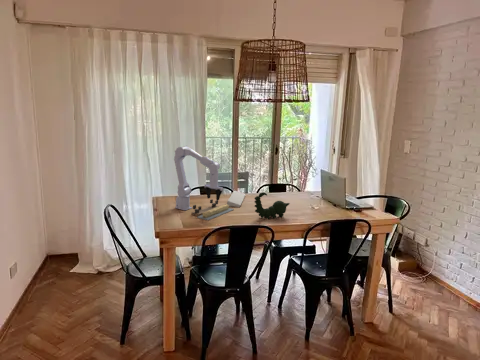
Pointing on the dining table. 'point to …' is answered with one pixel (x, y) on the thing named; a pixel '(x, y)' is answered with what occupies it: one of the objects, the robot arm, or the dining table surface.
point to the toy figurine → (270, 208)
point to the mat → (215, 214)
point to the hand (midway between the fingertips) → (213, 199)
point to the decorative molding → (236, 199)
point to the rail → (215, 210)
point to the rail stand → (200, 211)
